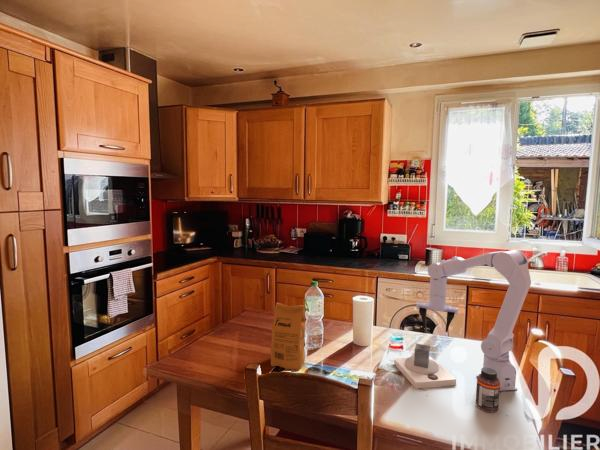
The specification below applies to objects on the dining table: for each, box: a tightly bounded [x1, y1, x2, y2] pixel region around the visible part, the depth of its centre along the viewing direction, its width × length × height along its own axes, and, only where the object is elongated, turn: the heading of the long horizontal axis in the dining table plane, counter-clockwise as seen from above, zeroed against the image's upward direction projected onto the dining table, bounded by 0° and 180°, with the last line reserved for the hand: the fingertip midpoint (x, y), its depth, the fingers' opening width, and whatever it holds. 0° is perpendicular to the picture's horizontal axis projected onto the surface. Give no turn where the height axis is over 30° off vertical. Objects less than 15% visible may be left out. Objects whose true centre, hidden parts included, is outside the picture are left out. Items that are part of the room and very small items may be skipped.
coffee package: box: [270, 301, 306, 371], centre depth 127 cm, size 10×12×22 cm
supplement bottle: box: [475, 366, 501, 413], centre depth 104 cm, size 6×6×11 cm
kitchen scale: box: [393, 355, 457, 390], centre depth 122 cm, size 16×14×3 cm
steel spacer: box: [413, 343, 431, 368], centre depth 123 cm, size 4×4×6 cm
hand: (435, 329), depth 135 cm, fingers open, 7 cm apart
